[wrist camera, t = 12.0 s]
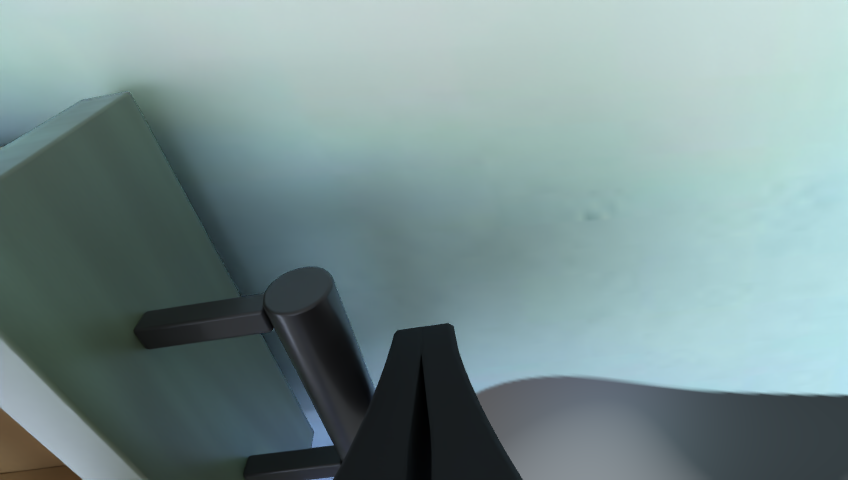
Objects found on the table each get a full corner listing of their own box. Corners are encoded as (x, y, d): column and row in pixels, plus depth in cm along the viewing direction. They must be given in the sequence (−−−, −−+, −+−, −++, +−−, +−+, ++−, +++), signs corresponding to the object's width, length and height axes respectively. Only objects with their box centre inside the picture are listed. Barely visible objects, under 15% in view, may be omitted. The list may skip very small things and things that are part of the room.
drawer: (310, 55, 10) (223, 184, 5) (421, 418, 18) (424, 602, 13) (-415, 196, 12) (-960, 389, 7) (-29, 474, 19) (-169, 656, 15)
